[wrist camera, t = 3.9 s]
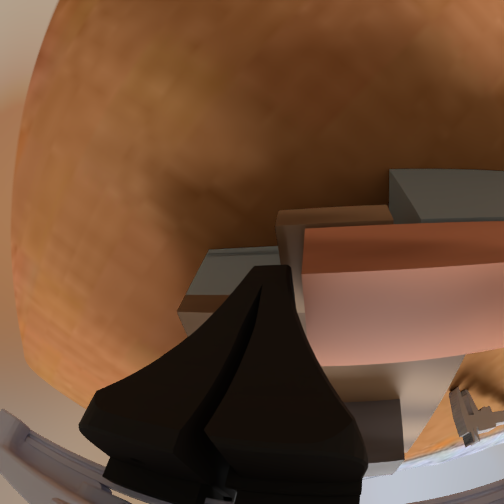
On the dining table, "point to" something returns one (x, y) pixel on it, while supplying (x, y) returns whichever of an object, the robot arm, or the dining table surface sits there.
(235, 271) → the blue grey tray
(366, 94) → the dining table surface
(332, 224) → the lid
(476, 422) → the caliper
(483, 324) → the salmon pink block
